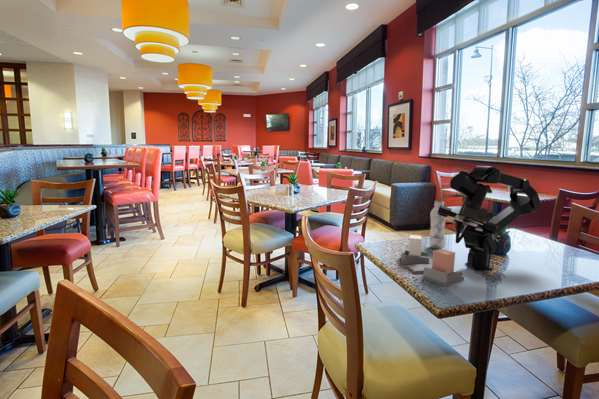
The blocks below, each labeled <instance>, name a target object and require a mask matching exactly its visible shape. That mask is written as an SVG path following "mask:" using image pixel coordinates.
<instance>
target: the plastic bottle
mask: <svg viewBox="0 0 599 399" xmlns="http://www.w3.org/2000/svg"><path fill="white" fill-rule="evenodd" d="M433 206H434V207H433V208H432V209H431V211H430V213H429V214H430V216H429V217H430V231H429V238H428V246H429V247H430V248H432V249H435V250H438V249H444V247H445V246H446V245H445V244H446V240H445V239H446V238H445V227H446V221H447V217H443V216H440V215H438V214H437V212H438V210H439V207H440V206H445V201H443V200H434V204H433Z"/></svg>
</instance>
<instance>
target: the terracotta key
mask: <svg viewBox="0 0 599 399" xmlns="http://www.w3.org/2000/svg"><path fill="white" fill-rule="evenodd" d="M455 260H456V252H455V251H451V250H448V249H444V248H442V249H435V250H433V253H432V269H436V270H439V271H442V272H445V273H448V274H451V273H453V272H455ZM448 274H447V275H448Z"/></svg>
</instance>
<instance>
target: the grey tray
mask: <svg viewBox="0 0 599 399" xmlns="http://www.w3.org/2000/svg"><path fill="white" fill-rule="evenodd" d="M400 263H401V264H402V265H403V264H405V265H406V266H405V268H406V269H407V270H408V271H410V272H411V273H412V274H415V275H418V274H423V275H422V277H421V278H422V280H425V281H428V282H430V283H433V284H434V285H435V284H436V285H438V286H441V287H444V288H446V287H448V286H451V285H454V284H457V283H460V282H462V281H464V280H465V276H463V271H462V270H457V271H454V272H453V273H451V274H448V273H445V272H442V271H439V270H436V269H432V264H433V261H432V259H431V256H428V251H424V250H423V251H422V250H421V256H413V255H409V249H406V248H405V247H404V246H402V247H401V254H400ZM447 274H448V275H447Z"/></svg>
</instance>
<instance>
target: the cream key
mask: <svg viewBox="0 0 599 399" xmlns="http://www.w3.org/2000/svg"><path fill="white" fill-rule="evenodd" d="M408 238H409V240H408V250H409V255H413V256H421V251H422V243H423V239H422V235H418V234H417V235H416V234H410V235H409V237H408Z"/></svg>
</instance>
